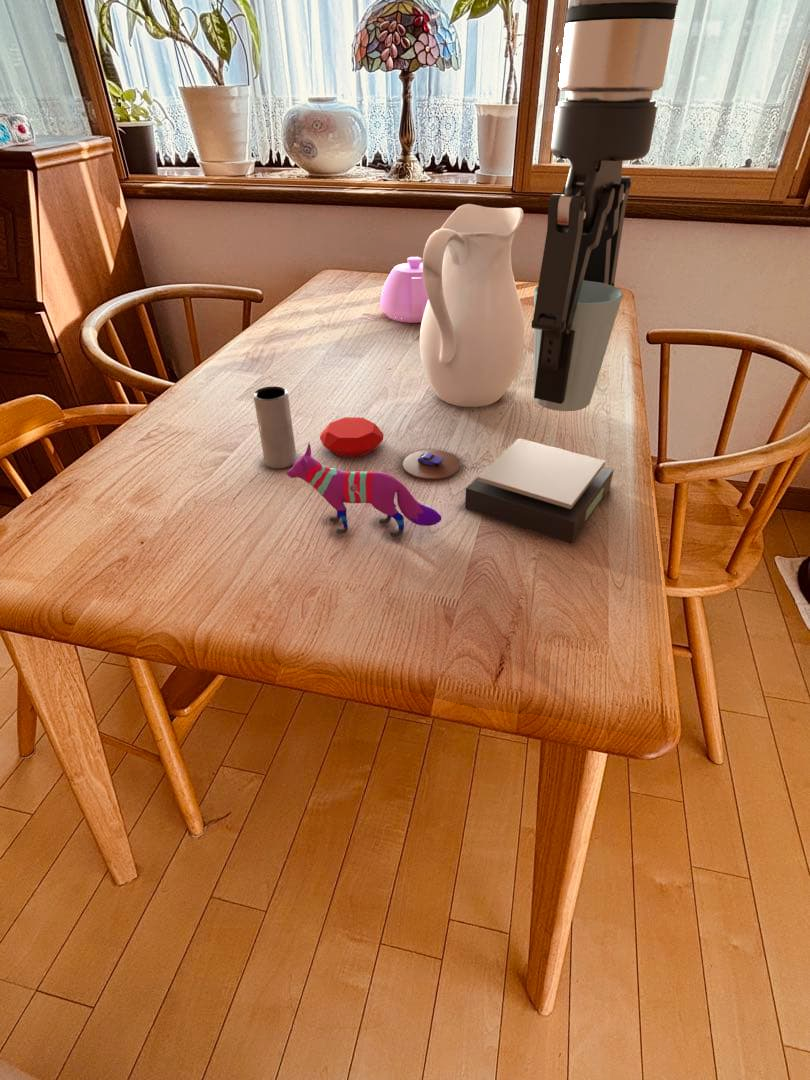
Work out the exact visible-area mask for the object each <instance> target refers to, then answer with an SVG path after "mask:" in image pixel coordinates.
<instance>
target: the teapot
mask: <svg viewBox="0 0 810 1080" xmlns="http://www.w3.org/2000/svg"><path fill="white" fill-rule="evenodd" d="M422 260H423V257H420V256H410V257H407V262H405V263H404V262H403V263H399V264H397V265H394V267H393V268H392V270H390V273H389V275H388V277H387V278H386V280H385V282H384V284H383V287H382V290H381V294H380V300H379V301H380V303H379V305H380V309H381V311H383V313H384V312H385V313H386V314H385V313H384V314H385V315H386V316H387V317H388V318H389V319H391V320H393V321H396V322H401V323H409V324H412V323H414V324H415V323H416V324H417V323H419V324H420V323H422V318H423V314H424V311H425V308H426V304H427V301H428V297H427V294H426V290H425V286H424V280H423V262H422ZM389 315H390V316H389ZM391 316H392V317H391ZM395 317H396V318H395ZM401 318H402V319H401Z"/></svg>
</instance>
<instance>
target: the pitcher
mask: <svg viewBox="0 0 810 1080" xmlns="http://www.w3.org/2000/svg"><path fill="white" fill-rule="evenodd" d="M523 220H524V210H523V209H522V208H521V207H503V208H502V207H489V206H482V205H477V204H474V203H473V204H472V203H466V204H465V203H464V204H462V205H460V206H458V207H457V208H456V209H455V210H454V211H453V212H452V213H451V214H450V215H449V216H448V218H446V221H444V223H443V224H442V226H441V227H440V228H439V229H436V230H434V231H433V232H432V233H431V234H430V235H429V237H428V238H427V240H426V242H425V245H424V248H423V252H422V253H423V254H422V255H423V256H422V263H423V280H424V286H425V290H426V294H427V297H428V301H427V304H426V308H425V311H424V314H423V318H422V322H420V323H421V324H420V331H419V354H420V355H419V356H420V361H421V365H422V370H423V372H424V375H425V377H426V379H427V381H428V384H429V385H430V387H431V389H432V390H433V392H434V393H435V394H436V396H437V398H439V400H441V401H443V402H445V403H447V404H449V405H453V406H457V407H464V408H477V407H486V406H490V405H492V404H495V403H496V402H498V401H499V400H500V399H501V398H502V397H503V396H504V394H505V393H506V392H507V391H508V389H509V388H510V386H511V385H512V383H513V381H514V380H515V378H516V376H517V374H518V372H519V370H520V367H521V363H522V360H523V355H524V350H525V342H526V341H525V340H526V327H525V316H524V312H523V306H522V303H521V298H520V294H519V291H518V288H517V285H516V281H515V276H514V273H513V268H512V255H511V253H512V244H513V240H514V237H515V236H516V233H517V231H518V230H519V229H520V226H521V224H522V222H523Z"/></svg>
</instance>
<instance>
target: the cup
mask: <svg viewBox="0 0 810 1080" xmlns="http://www.w3.org/2000/svg"><path fill="white" fill-rule="evenodd" d="M537 291H538V285H536V286H535V287H534V290H533V292H534V293H533V312H534V311H535V304H536V298H537ZM623 296H624V293H623V291H622V290H621V289H619V288H618V287H616V286H611V285H608V284H605V283H600V282H592V281H585V280H583V284H582V287H581V291H580V295H579V299H578V303H577V307H576V311H575V315H574V319H573V323H572V328H571V330H573V331H575V334H574V341H573V347H572V354H571V360H570V367H569V373H568V380H567V387H566V393H565V400H564V402H563V403H562V404H559V403H554V402H550V401H545V400H541V399H537V398H534V397H533V400H534V401H535V403H537V405H539V406H540V407H543V408H545V409H548V410H552V411H558V412H576V411H581V410H583V409H586V408H587V407H589V405H590V404H591V401H592V397H593V395H594V392H595V388H596V385H597V382H598V378H599V376H600V372H601V368H602V365H603V363H604V362H603V361H604V358H605V355H606V351H607V348H608V345H609V342H610V339H611V335H612V332H613V329H614V326H615V322H616V319H617V316H618V313H619V310H620V306H621V303H622V300H623ZM553 316H554V315H553ZM541 334H542V330H540V329H534V328H533V393H534V392H535V384H536V376H537V367H538V359H539V351H540V343H541Z"/></svg>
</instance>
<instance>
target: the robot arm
mask: <svg viewBox="0 0 810 1080" xmlns="http://www.w3.org/2000/svg"><path fill="white" fill-rule="evenodd" d="M678 4H679V0H568V2H567V8H566V9H567V10H566V16H565V26H564V34H563V36H564V37H563V40H562V41H560V42H559V43H558V45H557V47H556V55H557V56H558V57H559V58H561V61H560V62H561V63H560V70H559V71H560V73H559V81H558V88H559V90H560V91H562V92H565V99H564V100H559V101H558V105H555V110H554V117H553V118H554V119H553V128H552V136H551V137H552V138H551V146H550V149H551V150H550V151H551V153H552V155H553V156H554V157H556V158H557V159H563V160H569V162H570V168H569V171H568V175H567V180H566V184H565V185H564V186H563V189H562V192H561V194H556V193H552V194H551V195H550V197H549V199H548V203H547V205H548V206H547V227H546V235H545V241H544V249H543V253H542V259H541V260H542V261H541V267H540V273H539V279H538V284H537V286H538V291H537V298H536V304H535V311H534V310H533V317H532V320H531V328H532V329H533V330H534V329H540V330H542V334H541V343H540V351H539V359H538V367H537V376H536V384H535V392H534V391H533V399H534V398H537V399H541V400H545V401H550V402H554V403H559V404H562V403H563V402H564V400H565V393H566V387H567V380H568V373H569V367H570V360H571V354H572V347H573V341H574V334H575V331H573V330H571V328H572V323H573V319H574V315H575V311H576V307H577V303H578V299H579V295H580V291H581V287H582V284H583V280H585V281H592V282H600V283H605V284H608V285H611V286H614V287H616V286H615V285H616V284H615V282H616V275H617V269H618V262H619V255H620V247H621V240H622V235H623V227H624V221H625V215H626V209H627V203H628V199H629V194H630V191H631V187H632V183H633V182H632V177H631V176H623V163H624V162H628V161H635V160H641V159H643V158H645V157H646V156H647V155H649V153H650V149H651V146H652V145H651V144H652V140H653V135H654V129H655V124H656V118H657V113H658V108H659V105H656V104H657V101H656V100H655V99H653V95H654V94H653V93H654V91H659V90H660V89H661V88H662V87H663V86H664V81H665V76H666V75H665V74H666V69H667V65H668V64H667V63H668V60H669V59H668V58H669V53H670V47H671V41H672V36H673V31H674V25H675V17H676V12H677V6H678ZM553 315H554V316H553Z"/></svg>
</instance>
